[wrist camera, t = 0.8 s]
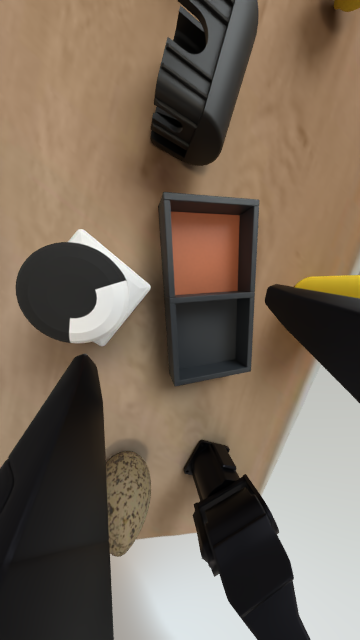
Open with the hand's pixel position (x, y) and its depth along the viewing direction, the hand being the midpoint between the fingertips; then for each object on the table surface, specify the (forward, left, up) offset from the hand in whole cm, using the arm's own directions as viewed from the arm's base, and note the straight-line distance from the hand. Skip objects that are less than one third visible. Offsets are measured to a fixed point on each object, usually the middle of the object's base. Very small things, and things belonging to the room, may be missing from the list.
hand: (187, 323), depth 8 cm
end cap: (+20, +5, -16) cm, 26 cm away
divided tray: (+4, -6, -15) cm, 17 cm away
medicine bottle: (-2, +5, -16) cm, 17 cm away
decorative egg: (-24, -8, -16) cm, 30 cm away
